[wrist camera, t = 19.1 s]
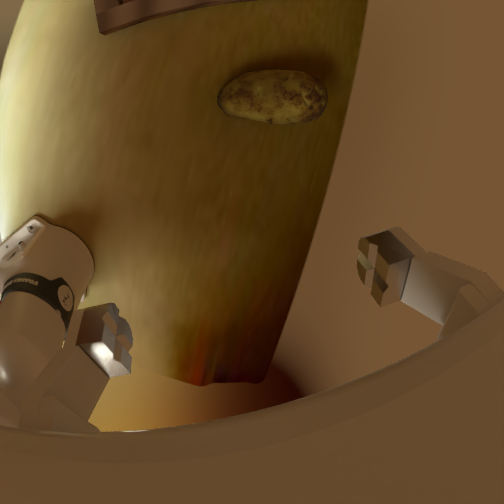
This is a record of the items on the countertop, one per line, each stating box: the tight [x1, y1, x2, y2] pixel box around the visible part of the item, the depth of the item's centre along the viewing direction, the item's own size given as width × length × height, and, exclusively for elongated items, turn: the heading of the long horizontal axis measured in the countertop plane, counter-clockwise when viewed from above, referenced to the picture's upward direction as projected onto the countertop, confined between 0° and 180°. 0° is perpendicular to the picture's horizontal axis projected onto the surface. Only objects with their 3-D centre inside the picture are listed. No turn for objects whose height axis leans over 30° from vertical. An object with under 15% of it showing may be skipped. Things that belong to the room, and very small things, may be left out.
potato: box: [217, 69, 328, 124], centre depth 32 cm, size 8×13×8 cm, turn 74°
